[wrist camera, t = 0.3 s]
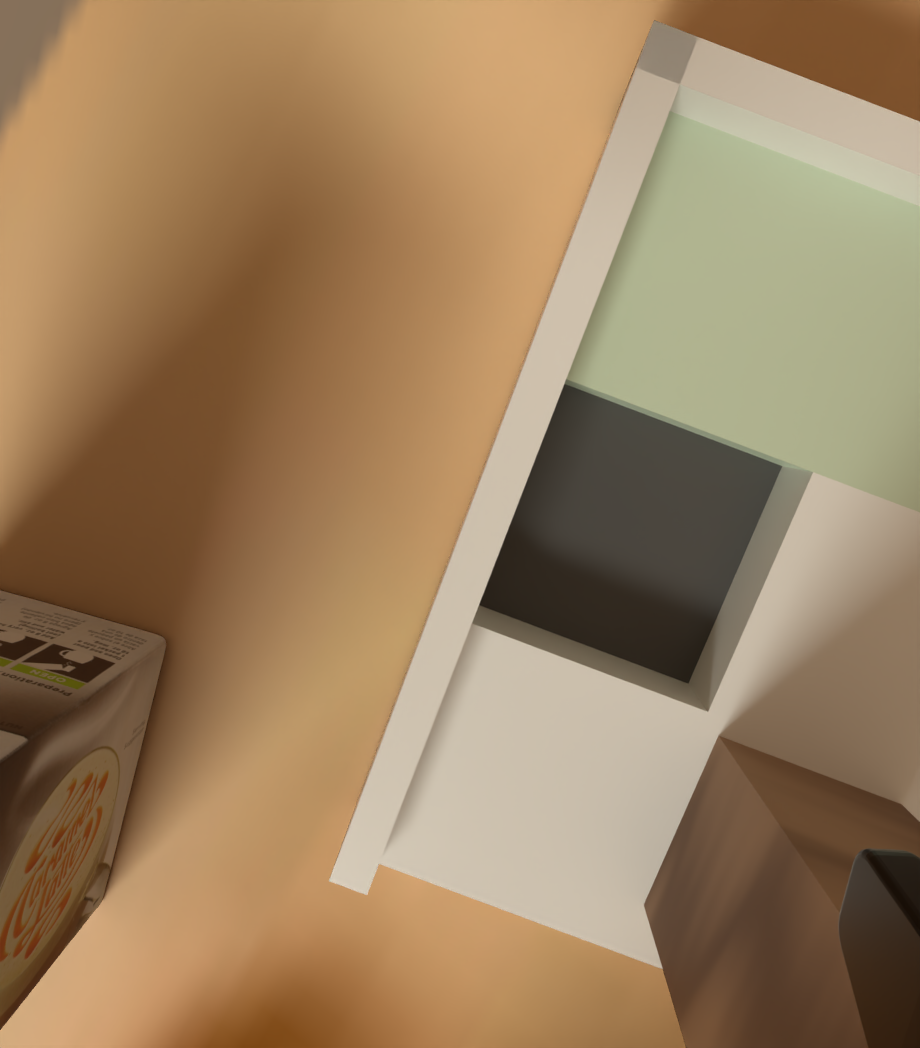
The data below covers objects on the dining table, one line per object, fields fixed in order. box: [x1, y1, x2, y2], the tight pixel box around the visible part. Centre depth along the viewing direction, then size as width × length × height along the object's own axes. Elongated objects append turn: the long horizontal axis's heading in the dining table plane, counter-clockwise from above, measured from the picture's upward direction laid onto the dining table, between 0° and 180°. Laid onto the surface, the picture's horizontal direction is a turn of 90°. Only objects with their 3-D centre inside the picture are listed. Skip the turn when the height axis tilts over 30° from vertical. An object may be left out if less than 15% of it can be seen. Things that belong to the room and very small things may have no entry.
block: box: [644, 736, 920, 1048], centre depth 17 cm, size 5×5×10 cm
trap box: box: [329, 20, 920, 969], centre depth 21 cm, size 21×21×4 cm
